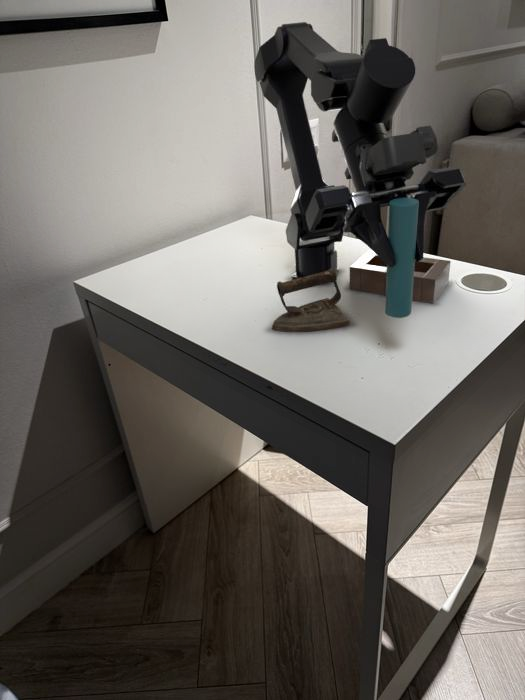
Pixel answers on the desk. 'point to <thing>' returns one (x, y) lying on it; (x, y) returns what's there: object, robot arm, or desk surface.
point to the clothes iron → (310, 306)
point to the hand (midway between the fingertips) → (406, 263)
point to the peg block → (426, 282)
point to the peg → (401, 256)
